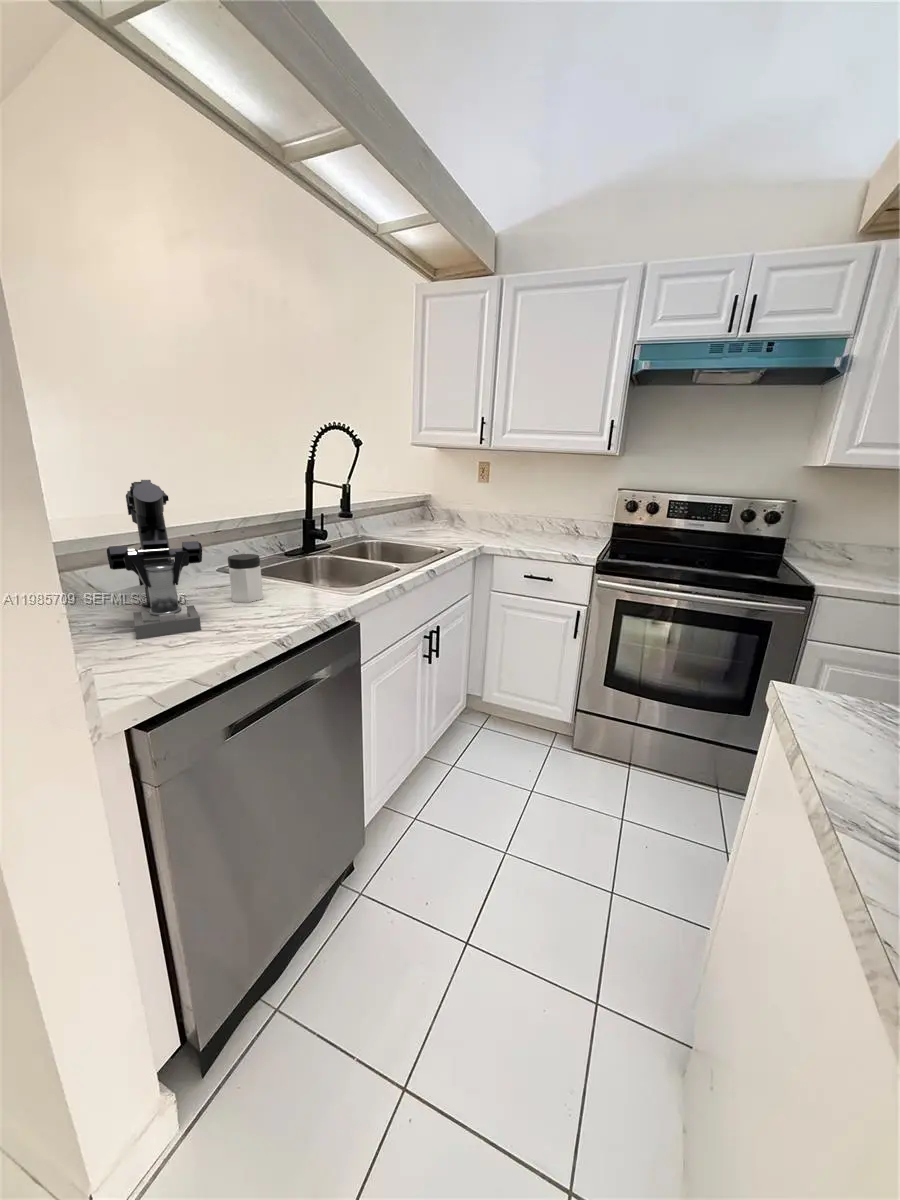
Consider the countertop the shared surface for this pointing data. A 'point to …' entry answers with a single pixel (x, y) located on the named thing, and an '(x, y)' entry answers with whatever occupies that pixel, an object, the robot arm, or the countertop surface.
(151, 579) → the dark grey flanged cylinder
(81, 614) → the countertop surface
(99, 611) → the countertop surface
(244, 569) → the jar
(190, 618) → the u-shaped bracket
